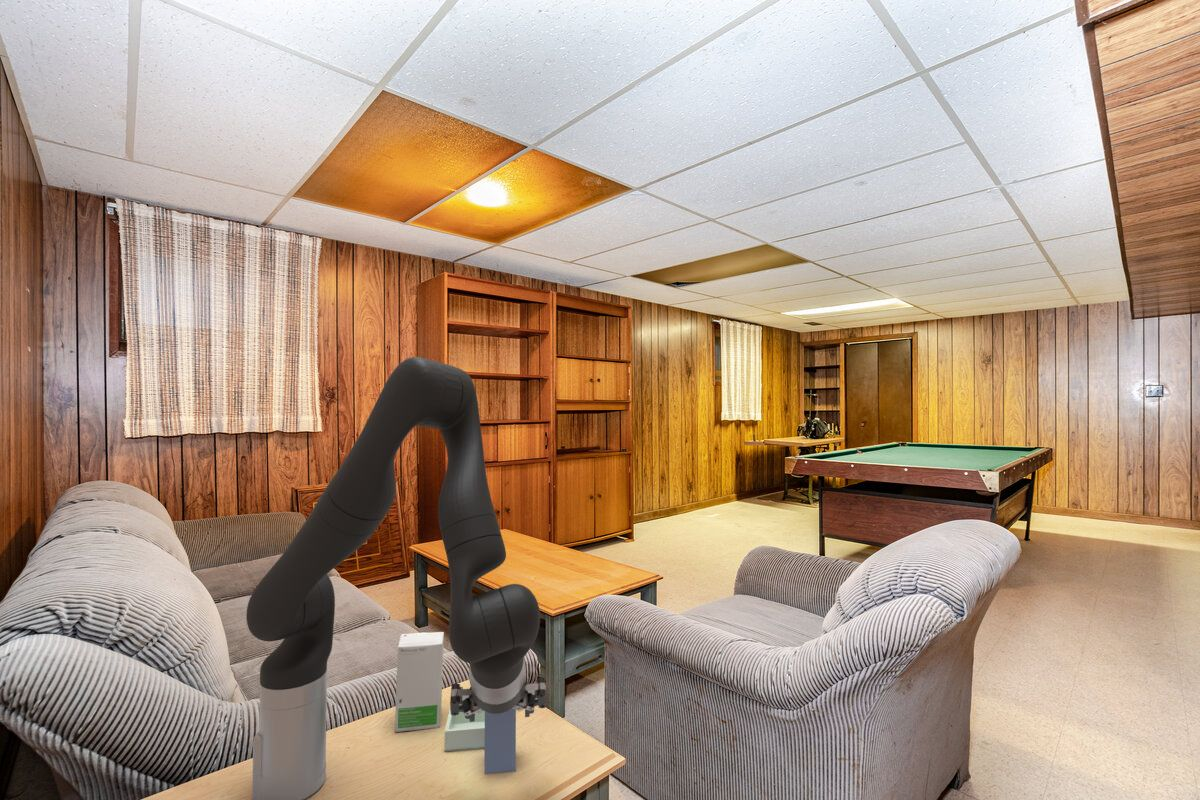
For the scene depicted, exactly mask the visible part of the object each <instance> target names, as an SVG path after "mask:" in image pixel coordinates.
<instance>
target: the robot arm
mask: <svg viewBox="0 0 1200 800" xmlns="http://www.w3.org/2000/svg"><path fill="white" fill-rule="evenodd" d="M480 418H481V417H480V409H479V401H478V396H477V391H476V387H475V384H474V382H473V379H472V377H471V376H470V375H469V374H468V373H467V371H464V370H463V369H461V368H459V367H456V366H454V365H451V364H448V363H443V362H439V361H436V360H432V359H429V358H425V357H419V356H412V357H411V356H410V357H408V358H405V359H404V360H402V361H401V362H400V363H399V364H398V365H397V366H396V367H395V368H394V370H393V371H392V372H391V373H390V376H389V377H388V379H387V380H386V382H385V384H384V386H383V388H382V390H381V392H380V393H379V395H378V398H377V400H376V401H375V404H374V406H373V408H372V410H371V412H370V414H369V416H368V418H367V420H366V421H365V424H364V426H363V428H362V430H361V432H360V433H359V435H358V437H357V439H356V440H355V442H354V443H353V446H352V447H351V449H350V451H349V453H348V454H347V456H346V457H345V459H344V460H343V462H342V464H341V465H340V467H339V468H338V469H337V471H336V473H335V474H334V476H333V477H332V478H331V479H330V481H329V482H328V484H327V485H326V487H325V489H324V491H322V494H321V495H320V497H319V498H318V500H317V501H316V504H315V506H314V507H313V509H312V511H311V512H310V514H309V515H308V517H307V518H306V520H305V522H304V523H303V524H302V525H301V527H300V529H299V530H298V532H297V533H296V534H295V537H294V538H293V539H292V541H290V543H289V545H288V546H287V548H286V549H285V550H284V552H283V553H282V554H281V555H280V557H279V558H278V559H277V561H276V562H275V563H274V564H273V566H272V567H271V568H270V569H269V570H268V572H266V573H265V575H264V577H263V578H262V579H261V580H259V582H258V583H257V585H256V587H255V588H253V589H254V590H253V591H252V593H251V595H250V597H249V599H248V603H247V606H246V618H245V619H246V625H247V628H248V631H249V632H250V633H251V635H252V636H253V637H255V638H256V639H258V640H260V641H262V642H263V641H264V642H277V641H281V640H282V641H281V643H279V645H278V646H277V647H276V648H275V649H274V650H273V651H272V652H271V653H270V654H269V655H268V656H267V657H266V658H265V659H264V660H263V662H262V664H261V666H260V670H259V720H258V721H259V722H258V723H259V724H258V728H259V729H258V732H257V733H256V734H255V735H254V737H253V741H252V786H251V787H252V789H251V790H252V791H251V794H252V797H251V800H306V799H307V798H309V797H311V796H312V795H314V794H315V793H316V792H318V791H319V789H320V788H321V787H322V786H323V784H324V783H325V781H326V776H327V775H326V773H327V772H326V770H327V769H326V768H327V761H326V760H327V707H328V705H327V703H328V702H327V700H328V699H327V697H328V692H327V691H328V688H327V687H328V686H327V684H328V660H329V657H330V656H331V653H332V650H333V649H332V648H333V641H334V628H335V627H334V626H335V625H334V624H335V612H336V611H335V610H336V597H335V596H336V595H335V589H334V585H333V582H332V580H331V578H330V576H329V575H328V574H329V573H330V572H332V570H334V569H335V568H337V566H339V565H340V564H341V563H342V562H344V561H345V560H346V559H348V558H349V557H350V556H351V555H352V554H354V553H355V552H356V551H358V550H359V549H360V548H361V547H362V546H363V545H364V544H365V543H366V542H368V541H369V539H370V538H371V537H372V535H373V534H374V533H375V531H376V530H377V529H378V527H379V526H380V525H381V523H382V522H383V520H384V519H385V517H386V516H387V514H388V513H389V511H390V509H391V508H392V506H393V503H394V502H395V498H396V490H397V489H396V487H397V486H396V485H397V484H396V483H397V482H396V471H395V459H396V456H397V452H398V451H399V449H400V447H401V445H402V443H403V442H404V441H405V438H406V437H407V436H408V435H409V433H410V432H411V431H412V430H413V429H414V428H415V427H417V426H419V427H425V428H426V427H427V428H432V429H437V430H439V432H440V434H441V436H442V439H443V443H444V444H445V448H446V452H447V465H446V471H445V474H444V479H443V482H442V485H441V490H440V493H439V497H438V503H437V504H438V505H437V519H438V525H439V526H438V527H439V530H440V534H441V538H442V543H443V547H444V550H445V556H446V559H447V560H446V561H447V565H448V571H449V580H450V602H449V603H450V604H449V605H450V606H449V616H448V617H449V619H448V637H449V638H448V639H449V643H450V647H451V649H452V651H453V653H454V654H455V656H456V657H457V658H458V659H459V660H461V661H463V662H464V663H466V664H469V669H468V671H469V672H468V673H469V677H468V681H469V685H470V687H469V688H464V687H463V686H461V684H460V683H457V682H456V683H452V684H451V688H450V689H451V690H450V699H449V700H450V701H449V705H450V706H449V710H450V711H451V715H453V716H456V715H458V714H459V712H463V715H465V718H466V719H469V720H470V722H474V721H475V714H480V713H482V712H484V711H485V712H488V713H491V714H500V713H504V712H507V711H509V710H510V709H515V710H516V711H519V712H520V711H523V710H524V717H525V718H530V715H531V714H532V715H533V714H534V713H535V708H536V707H538V709H545V708H547V689H546V688H547V686H546V684H547V683H546V677H542V676H540V677H538V678H536V681H535V680H534V683H528V682H527V681H526V674H527V673H526V662H525V657H526V655H527V654H528V652H529V651H530V650H531V648H532V646H533V645H534V643H535V641H536V639H537V637H538V633H539V630H540V623H541V613H540V611H541V610H540V605H539V602H538V600H537V597H536V596H535V594H534V593H533V591H532V590H531V589H529V588H528V587H526V586H524V585H522V584H520V583H511V584H507V585H504V586H501V587H498V588H494V589H492V590H488V591H486V592H482V593H479V594H476V595H473V594H472V592H473V591H472V590H473V587H474V585H475V583H476V582H477V581H478V580H479V579H480V578H482V577H484V576H485V575H487V574H488V573H490V572H492V571H494V570H496V569H497V568H499V567H500V566H501V565H502V564H503V563H504V562H505V561H506V558H507V551H506V546H505V542H504V539H503V535H502V532H501V529H500V526H499V525H500V524H499V522H498V521H499V520H498V518H497V515H496V512H495V508H494V505H493V504H494V503H493V501H492V497H491V493H490V488H489V484H488V478H487V469H486V462H485V455H484V454H485V452H484V444H483V436H482V428H481V419H480Z"/></svg>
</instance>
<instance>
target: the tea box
mask: <svg viewBox="0 0 1200 800" xmlns="http://www.w3.org/2000/svg"><path fill="white" fill-rule="evenodd" d="M516 731H517V710H515V709H510V710H509V711H507V712H504V713H500V714H491V713H488V712H485V748H484V757H483V758H484V762H483V763H484V775H491V774H500V773H501V774H502V773H511V772H516V771H517V770H516V767H517V766H516V762H517V760H516V755H517V754H516V753H517V752H516V750H517V749H516V747H517V746H516V744H517V743H516V741H517V740H516V739H517V732H516Z"/></svg>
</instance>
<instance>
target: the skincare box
mask: <svg viewBox="0 0 1200 800" xmlns="http://www.w3.org/2000/svg"><path fill="white" fill-rule="evenodd" d="M444 639H445V632H444V631H436V632H434V631H433V632H425V631H424V632H417V633H412V632H411V633H402V634H401V635H400V637H399V642H398V646H397V664H396V688H395V689H396V690H395V691H396V692H395V714H394V715H395V716H394V719H395V720H394V732H395V733H398V732H399V733H400V732H410V731H417V730H419V731H420V730H427V729H436V728H440V726H441V716H442V700H443V699H442V698H443V674H444V673H443V669H444V668H443V667H444V664H443V663H444V642H445V641H444Z"/></svg>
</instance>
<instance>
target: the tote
mask: <svg viewBox="0 0 1200 800" xmlns="http://www.w3.org/2000/svg"><path fill="white" fill-rule="evenodd" d="M481 749H485V711H484V712H482V713H480V714H475V721H474V722H470V720H469V719H466V718H465V715H463V712H459V714H458V715H456V716H453V715H451V711H450V709H449V710H448V716H447V720H446V725H445V729H444V753H448V752H458V751H459V752H460V751H470V750H471V751H472V750H481Z"/></svg>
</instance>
